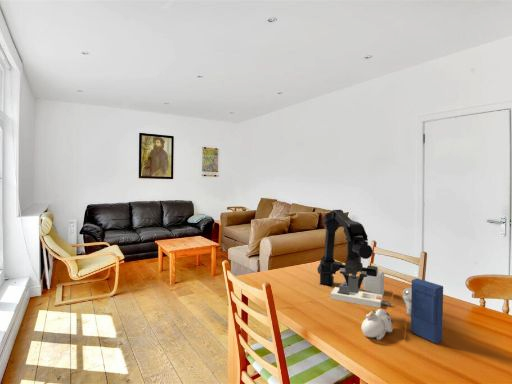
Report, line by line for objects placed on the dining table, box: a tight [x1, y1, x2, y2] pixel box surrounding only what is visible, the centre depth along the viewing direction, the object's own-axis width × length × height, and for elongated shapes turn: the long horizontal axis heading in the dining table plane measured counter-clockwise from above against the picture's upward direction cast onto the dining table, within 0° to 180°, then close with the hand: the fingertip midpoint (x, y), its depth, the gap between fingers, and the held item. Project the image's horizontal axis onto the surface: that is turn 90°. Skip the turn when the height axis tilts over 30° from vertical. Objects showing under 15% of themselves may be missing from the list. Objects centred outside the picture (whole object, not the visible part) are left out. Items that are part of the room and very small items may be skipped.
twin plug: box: [338, 280, 349, 295], centre depth 139 cm, size 4×4×8 cm
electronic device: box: [410, 278, 444, 345], centre depth 105 cm, size 10×5×20 cm, turn 31°
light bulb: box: [401, 286, 412, 317], centre depth 121 cm, size 7×7×12 cm
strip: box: [330, 286, 392, 309], centre depth 136 cm, size 26×9×4 cm, turn 61°
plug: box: [348, 274, 361, 293], centre depth 125 cm, size 4×4×8 cm
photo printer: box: [362, 269, 385, 296], centre depth 146 cm, size 10×4×12 cm, turn 39°
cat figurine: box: [361, 308, 393, 341], centre depth 108 cm, size 10×8×15 cm
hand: (353, 288), depth 125 cm, fingers closed on plug, 4 cm apart
